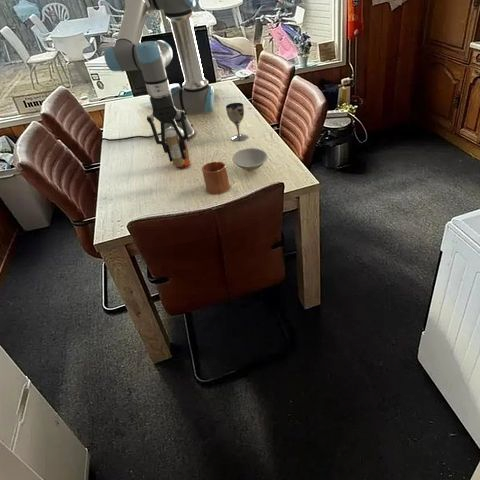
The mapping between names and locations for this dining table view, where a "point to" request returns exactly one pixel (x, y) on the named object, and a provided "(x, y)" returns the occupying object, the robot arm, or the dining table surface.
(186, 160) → the smoothie
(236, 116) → the wine glass
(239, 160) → the dish
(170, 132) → the sprinkles bottle
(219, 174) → the tumbler
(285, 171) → the dining table surface
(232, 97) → the dining table surface
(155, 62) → the robot arm
